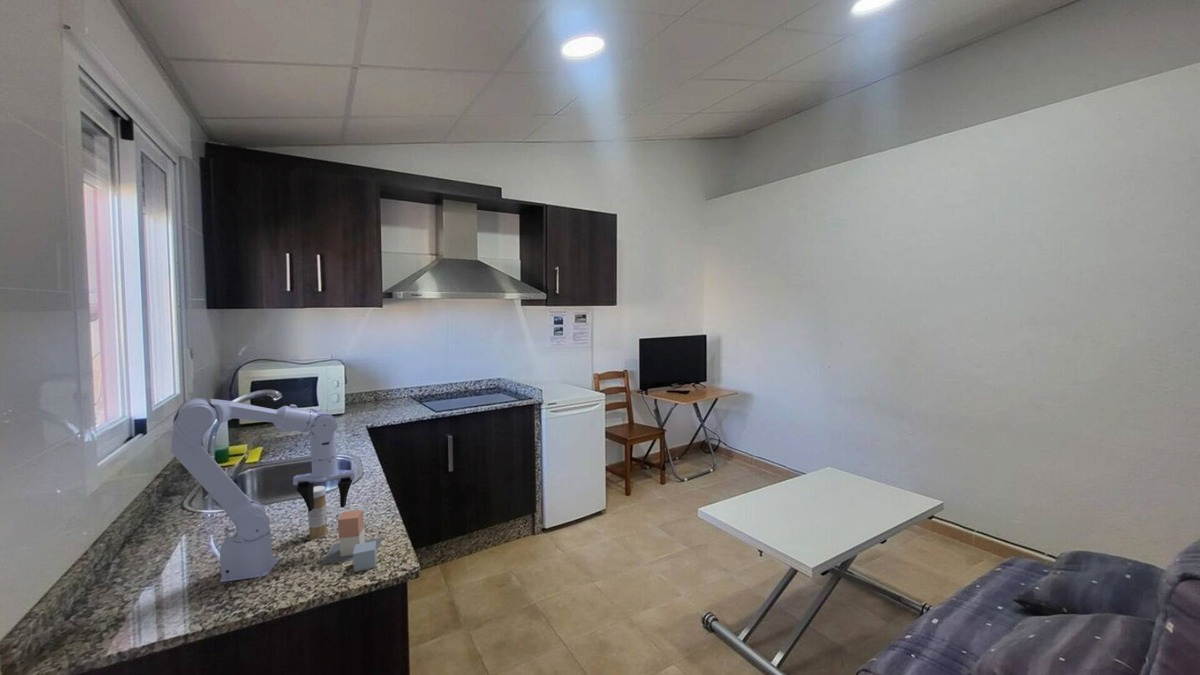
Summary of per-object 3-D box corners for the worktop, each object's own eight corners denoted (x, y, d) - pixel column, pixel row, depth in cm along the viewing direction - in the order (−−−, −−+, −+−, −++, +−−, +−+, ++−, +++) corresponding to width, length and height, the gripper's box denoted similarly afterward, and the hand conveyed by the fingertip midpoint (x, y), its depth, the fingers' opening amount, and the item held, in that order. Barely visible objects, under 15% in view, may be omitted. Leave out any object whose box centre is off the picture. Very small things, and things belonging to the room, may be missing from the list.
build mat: (320, 565, 113) (320, 564, 113) (334, 545, 123) (334, 544, 123) (373, 558, 116) (373, 557, 116) (382, 539, 126) (382, 537, 126)
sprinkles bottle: (314, 532, 131) (311, 485, 130) (331, 531, 131) (328, 484, 130) (305, 540, 126) (302, 492, 125) (323, 539, 127) (320, 491, 126)
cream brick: (340, 556, 117) (339, 538, 116) (346, 547, 121) (345, 529, 121) (360, 553, 118) (359, 535, 117) (365, 544, 122) (364, 527, 122)
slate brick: (354, 573, 110) (352, 553, 110) (356, 563, 114) (355, 544, 114) (375, 568, 112) (374, 549, 111) (376, 559, 116) (375, 540, 116)
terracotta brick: (339, 538, 116) (337, 520, 116) (344, 529, 121) (343, 512, 120) (358, 536, 117) (357, 517, 117) (363, 527, 122) (362, 509, 121)
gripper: (286, 465, 116) (290, 517, 117) (349, 459, 119) (352, 510, 120) (298, 456, 123) (301, 506, 123) (357, 451, 126) (360, 499, 127)
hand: (327, 507), depth 122 cm, fingers open, 7 cm apart
